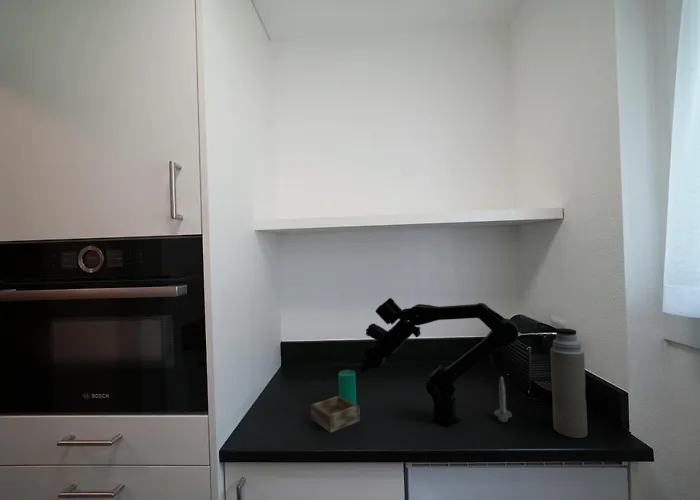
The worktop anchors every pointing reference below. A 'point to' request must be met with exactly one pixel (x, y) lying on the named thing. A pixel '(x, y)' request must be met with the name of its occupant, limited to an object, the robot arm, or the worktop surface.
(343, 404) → the candle holder
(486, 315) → the robot arm
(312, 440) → the worktop surface
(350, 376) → the candle
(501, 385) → the screw
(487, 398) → the worktop surface
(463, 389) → the worktop surface
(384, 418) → the worktop surface
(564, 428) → the thermos bottle
